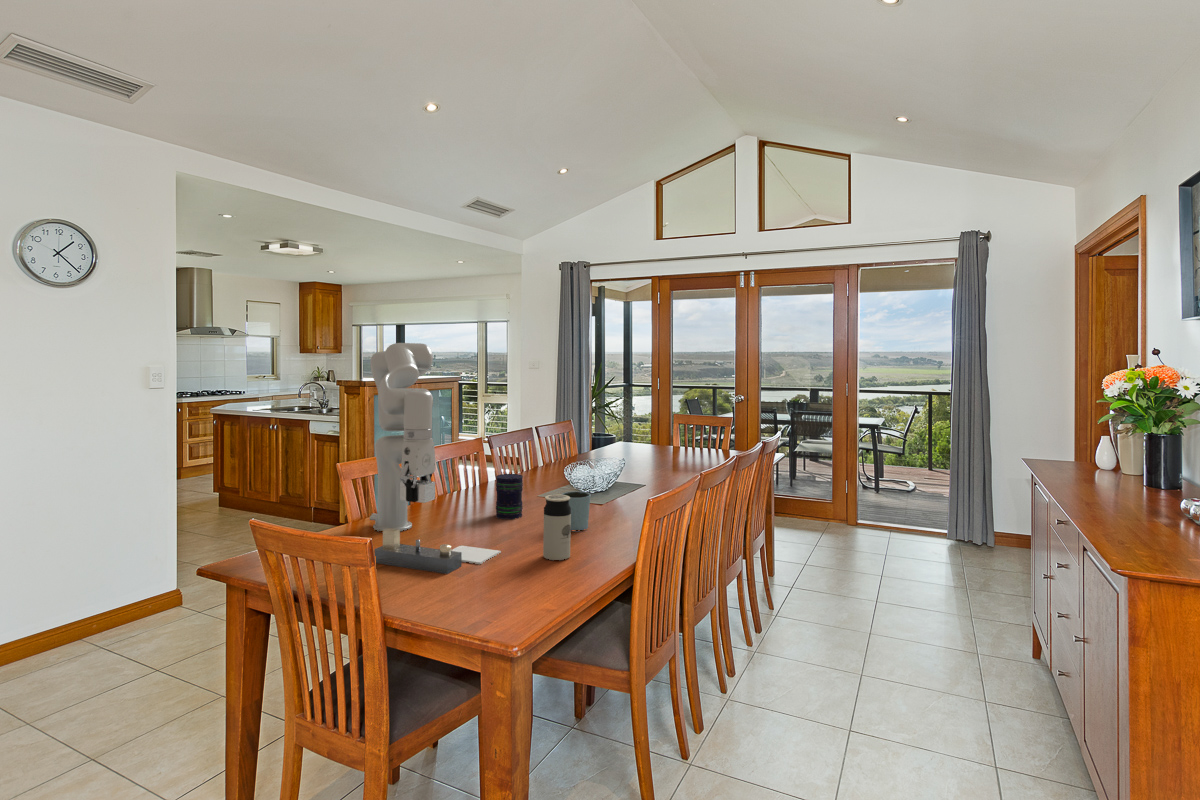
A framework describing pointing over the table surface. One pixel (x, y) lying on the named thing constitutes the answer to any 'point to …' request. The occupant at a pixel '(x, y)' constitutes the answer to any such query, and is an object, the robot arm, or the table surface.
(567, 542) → the travel mug
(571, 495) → the blue grey cup
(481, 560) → the mat
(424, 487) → the grey rectangular block
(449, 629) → the table surface
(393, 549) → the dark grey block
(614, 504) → the table surface
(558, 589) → the table surface
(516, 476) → the storage jar
